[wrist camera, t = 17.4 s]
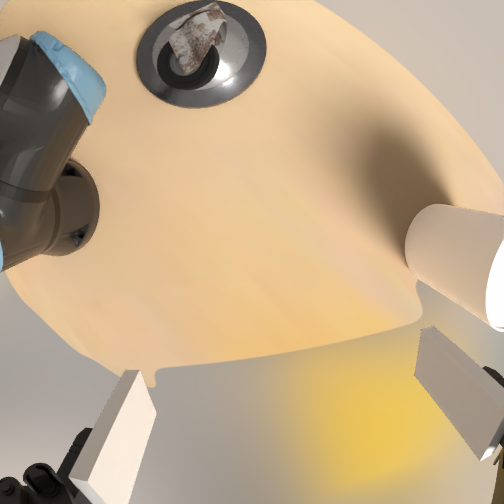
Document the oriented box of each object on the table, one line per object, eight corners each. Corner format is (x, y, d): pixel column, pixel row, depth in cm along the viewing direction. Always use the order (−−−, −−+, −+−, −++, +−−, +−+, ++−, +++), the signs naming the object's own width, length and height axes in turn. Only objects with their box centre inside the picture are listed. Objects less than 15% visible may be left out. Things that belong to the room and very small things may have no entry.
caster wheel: (181, 100, 40) (156, 47, 36) (252, 67, 37) (224, 13, 33) (164, 99, 34) (136, 39, 30) (246, 59, 31) (213, -2, 27)
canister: (400, 284, 46) (474, 340, 26) (407, 201, 43) (495, 218, 23) (459, 280, 46) (533, 322, 26) (467, 205, 43) (552, 223, 23)
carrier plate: (142, 120, 39) (140, 118, 38) (138, 17, 35) (136, 14, 33) (274, 99, 39) (275, 97, 38) (256, -3, 35) (257, -7, 33)
